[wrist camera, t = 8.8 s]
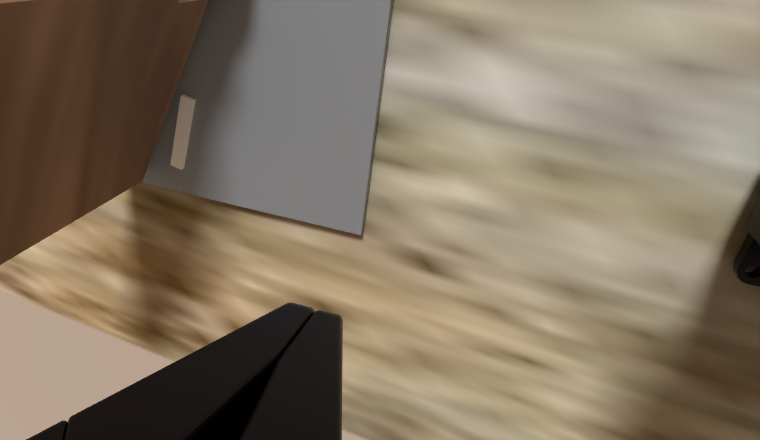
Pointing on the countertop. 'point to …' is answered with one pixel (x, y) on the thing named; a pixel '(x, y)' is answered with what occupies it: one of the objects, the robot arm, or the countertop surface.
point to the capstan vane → (82, 104)
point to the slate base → (279, 109)
